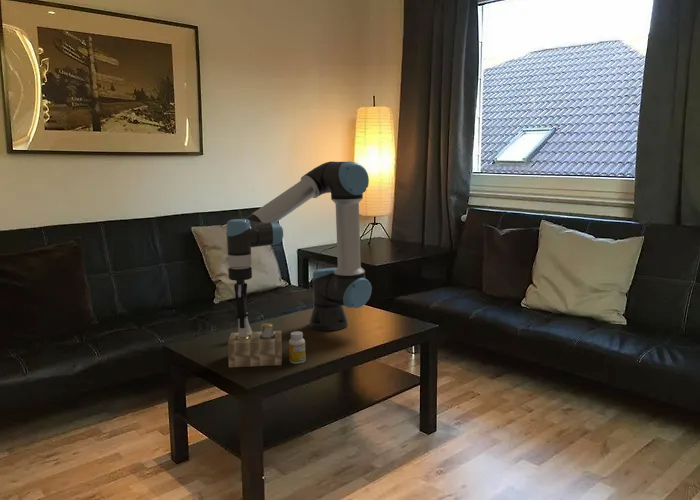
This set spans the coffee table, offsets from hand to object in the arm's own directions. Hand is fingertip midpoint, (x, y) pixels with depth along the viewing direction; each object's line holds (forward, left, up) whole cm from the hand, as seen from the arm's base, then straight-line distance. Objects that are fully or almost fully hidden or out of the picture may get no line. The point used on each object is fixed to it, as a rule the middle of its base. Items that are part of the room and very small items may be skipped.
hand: (242, 336), depth 207 cm
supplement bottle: (-18, +3, -9) cm, 20 cm away
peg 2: (-8, 0, -4) cm, 9 cm away
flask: (+1, -24, -9) cm, 26 cm away
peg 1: (0, 0, -8) cm, 8 cm away
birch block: (-4, 0, -8) cm, 9 cm away
